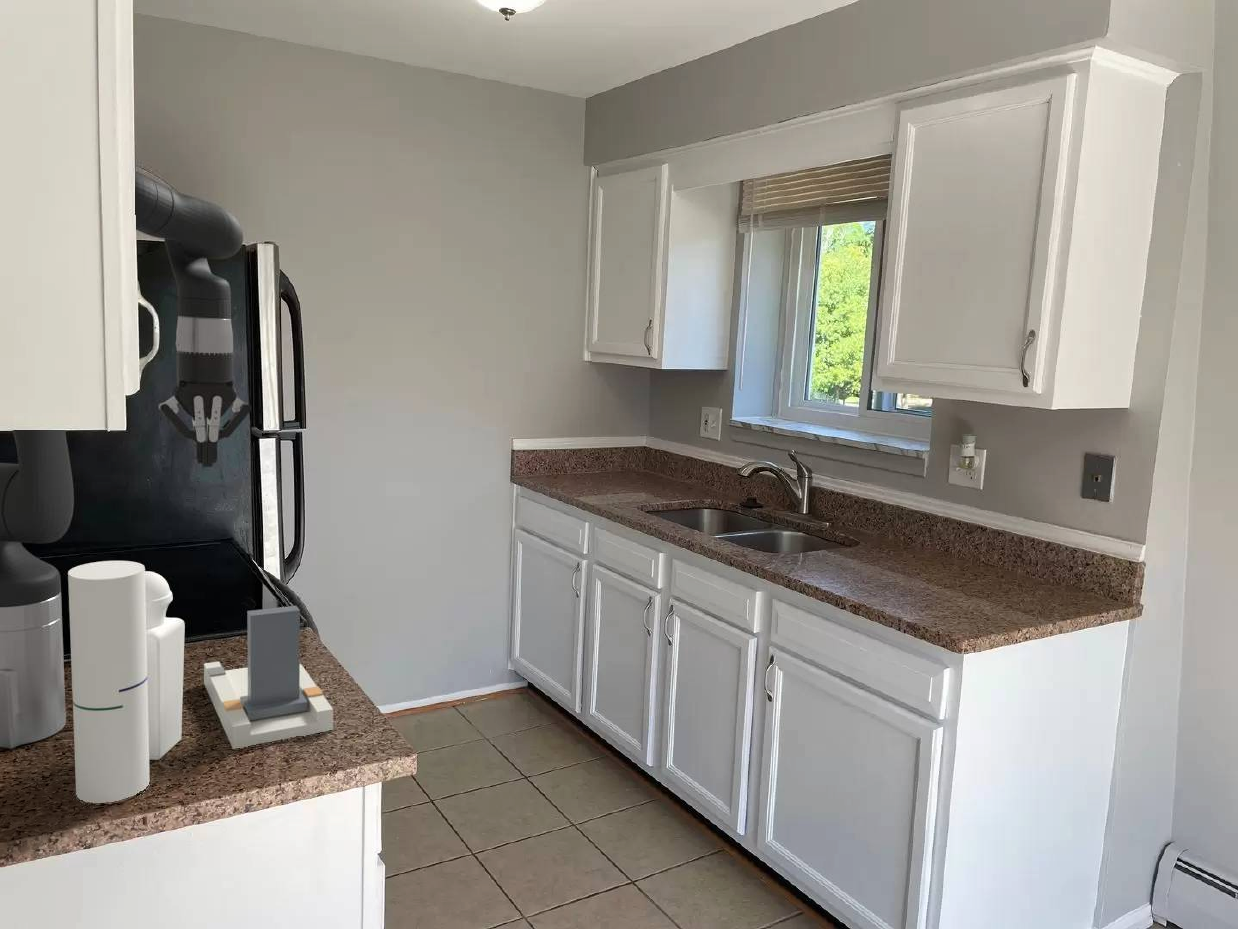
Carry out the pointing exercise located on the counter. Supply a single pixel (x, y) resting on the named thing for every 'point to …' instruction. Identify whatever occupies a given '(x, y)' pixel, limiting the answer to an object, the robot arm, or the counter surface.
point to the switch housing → (245, 733)
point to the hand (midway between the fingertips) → (206, 466)
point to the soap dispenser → (163, 667)
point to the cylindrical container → (109, 679)
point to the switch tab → (273, 663)
